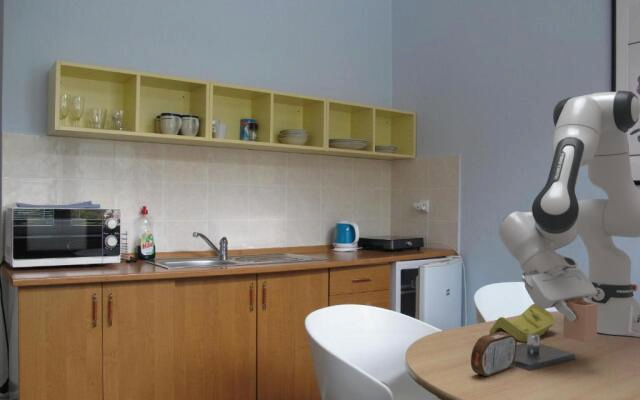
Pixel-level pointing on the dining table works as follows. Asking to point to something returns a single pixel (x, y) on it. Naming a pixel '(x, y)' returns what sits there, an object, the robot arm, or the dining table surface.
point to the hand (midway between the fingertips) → (583, 318)
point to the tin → (493, 353)
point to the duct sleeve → (582, 321)
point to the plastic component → (525, 323)
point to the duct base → (538, 354)
